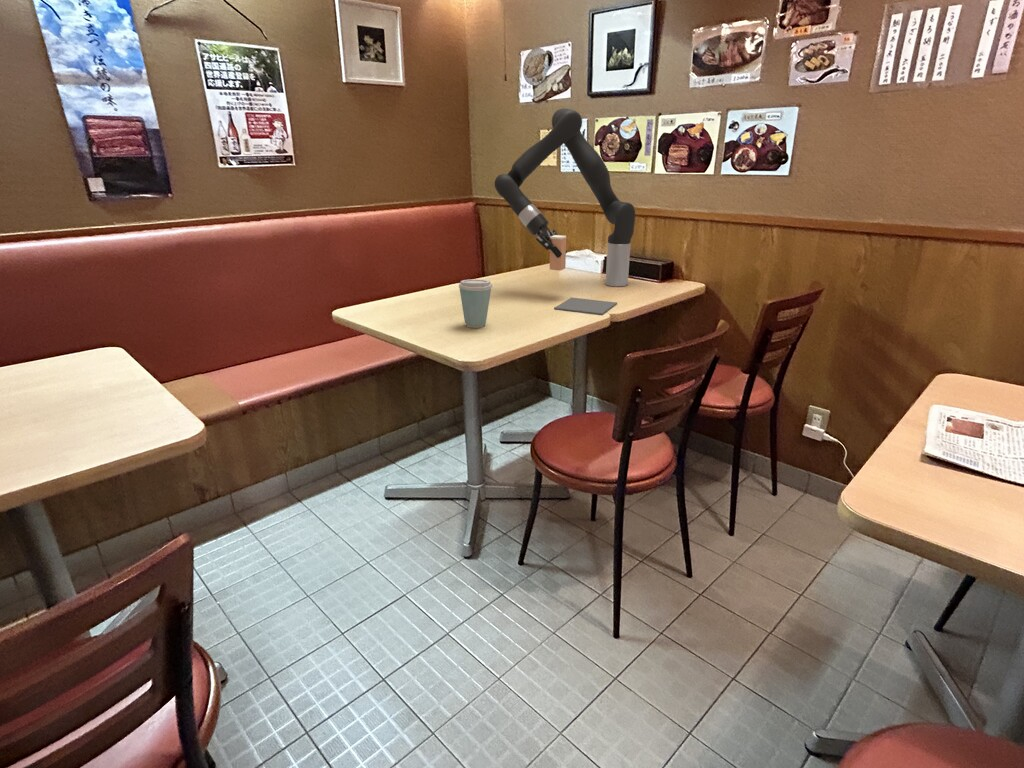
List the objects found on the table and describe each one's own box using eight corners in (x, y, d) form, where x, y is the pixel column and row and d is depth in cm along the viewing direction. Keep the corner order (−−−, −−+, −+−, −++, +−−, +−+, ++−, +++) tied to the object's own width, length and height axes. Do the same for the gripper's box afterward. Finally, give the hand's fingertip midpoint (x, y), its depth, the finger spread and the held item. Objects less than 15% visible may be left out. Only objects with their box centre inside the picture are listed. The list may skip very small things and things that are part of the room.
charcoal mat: (571, 298, 224) (571, 297, 224) (617, 304, 216) (617, 302, 216) (554, 309, 210) (554, 307, 210) (602, 315, 202) (602, 313, 202)
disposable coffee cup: (459, 321, 196) (458, 276, 190) (492, 320, 197) (491, 276, 191) (460, 330, 186) (458, 283, 181) (494, 329, 187) (493, 283, 182)
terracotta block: (554, 267, 222) (555, 235, 218) (565, 268, 221) (566, 235, 216) (549, 269, 219) (550, 236, 214) (560, 270, 217) (561, 237, 212)
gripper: (531, 214, 209) (562, 251, 209) (547, 210, 221) (576, 245, 221) (518, 229, 213) (548, 265, 213) (534, 224, 225) (563, 258, 225)
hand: (562, 254), depth 217 cm, fingers closed on terracotta block, 4 cm apart
